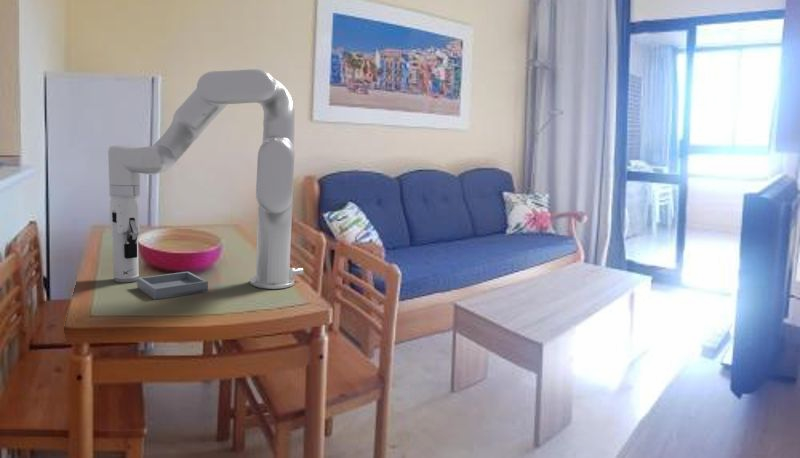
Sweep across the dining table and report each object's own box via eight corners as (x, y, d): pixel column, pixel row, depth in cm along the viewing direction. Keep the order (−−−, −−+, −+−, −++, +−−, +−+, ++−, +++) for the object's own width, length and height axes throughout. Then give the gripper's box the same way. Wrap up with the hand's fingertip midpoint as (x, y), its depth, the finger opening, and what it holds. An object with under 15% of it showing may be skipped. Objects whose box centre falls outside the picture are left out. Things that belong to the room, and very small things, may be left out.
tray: (188, 280, 161) (188, 271, 160) (207, 291, 152) (207, 281, 152) (137, 288, 151) (137, 277, 150) (155, 299, 143) (155, 289, 142)
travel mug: (130, 284, 154) (128, 211, 150) (108, 281, 155) (106, 209, 151) (144, 278, 160) (143, 208, 156) (124, 275, 161) (122, 206, 157)
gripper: (99, 187, 156) (101, 250, 159) (121, 195, 144) (123, 263, 147) (127, 187, 162) (128, 248, 165) (151, 194, 150) (152, 260, 153)
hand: (126, 254), depth 156 cm, fingers closed on travel mug, 6 cm apart
